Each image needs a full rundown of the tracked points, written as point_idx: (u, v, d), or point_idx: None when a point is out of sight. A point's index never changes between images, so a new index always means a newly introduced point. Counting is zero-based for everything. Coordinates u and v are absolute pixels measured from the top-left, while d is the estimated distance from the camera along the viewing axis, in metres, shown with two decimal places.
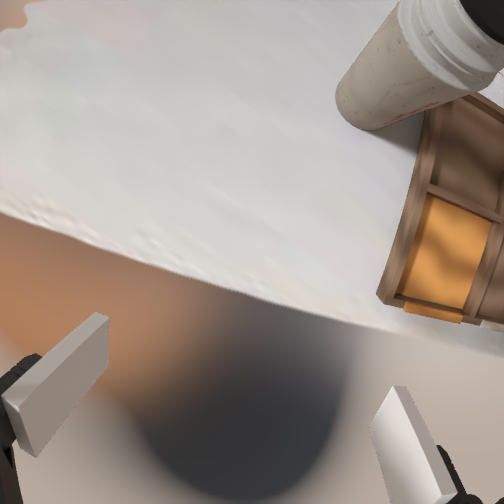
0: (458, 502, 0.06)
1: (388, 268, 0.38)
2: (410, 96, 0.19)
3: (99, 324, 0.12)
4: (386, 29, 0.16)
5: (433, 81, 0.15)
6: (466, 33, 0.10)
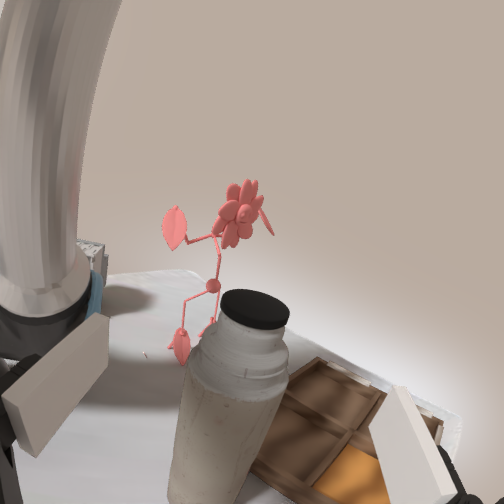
0: (458, 502, 0.06)
1: None
2: (257, 439, 0.22)
3: (99, 324, 0.12)
4: (202, 410, 0.21)
5: (270, 405, 0.21)
6: (264, 345, 0.20)
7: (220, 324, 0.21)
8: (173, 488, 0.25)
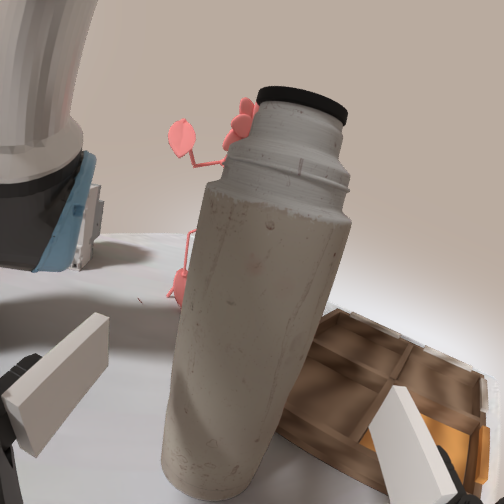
0: (458, 502, 0.06)
1: None
2: (310, 319, 0.15)
3: (99, 324, 0.12)
4: (226, 250, 0.14)
5: (335, 239, 0.14)
6: (323, 135, 0.14)
7: (257, 118, 0.15)
8: (169, 443, 0.19)
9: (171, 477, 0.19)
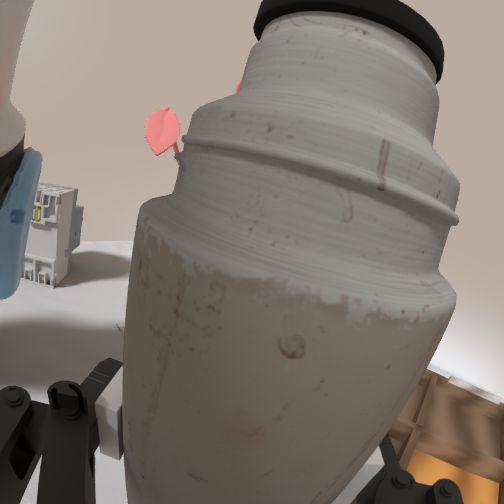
0: (384, 478, 0.07)
1: None
2: (356, 472, 0.06)
3: None
4: (175, 386, 0.05)
5: (436, 344, 0.05)
6: (417, 91, 0.05)
7: (256, 51, 0.06)
8: None
9: None
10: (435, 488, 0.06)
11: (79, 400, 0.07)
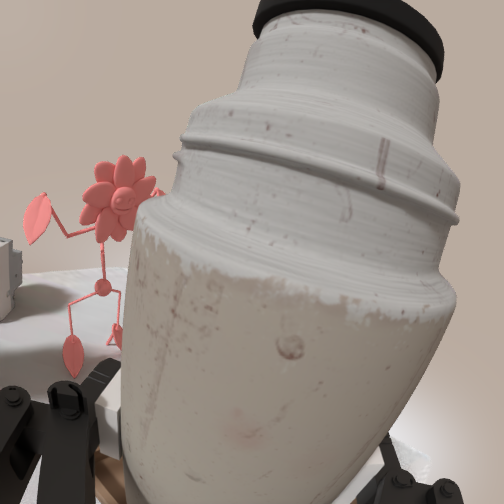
0: (384, 478, 0.07)
1: None
2: (355, 473, 0.06)
3: None
4: (173, 387, 0.05)
5: (435, 345, 0.05)
6: (417, 90, 0.05)
7: (255, 50, 0.06)
8: None
9: None
10: (435, 488, 0.06)
11: (79, 400, 0.07)
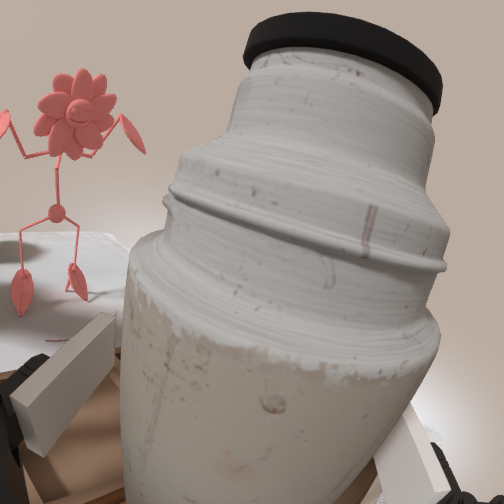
0: (452, 500, 0.06)
1: None
2: (341, 493, 0.07)
3: (106, 324, 0.12)
4: (169, 427, 0.05)
5: (416, 386, 0.05)
6: (411, 137, 0.05)
7: (245, 89, 0.06)
8: None
9: None
10: (493, 502, 0.05)
11: None
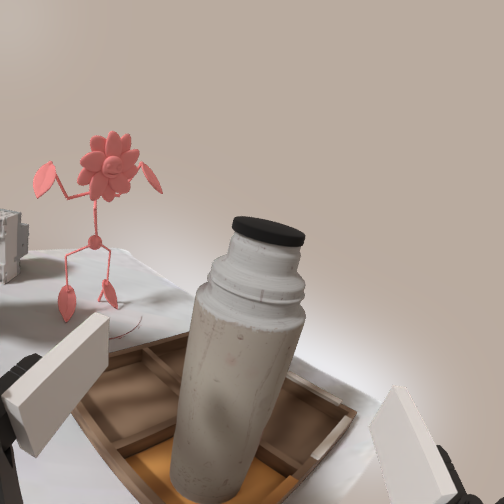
0: (458, 502, 0.06)
1: None
2: (273, 387, 0.21)
3: (99, 324, 0.12)
4: (212, 348, 0.20)
5: (288, 339, 0.20)
6: (281, 264, 0.19)
7: (232, 246, 0.20)
8: (176, 462, 0.24)
9: (178, 487, 0.24)
10: None
11: None
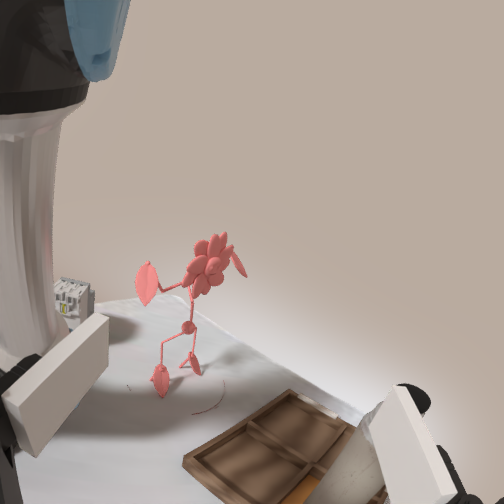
0: (458, 502, 0.06)
1: None
2: None
3: (99, 324, 0.12)
4: (375, 464, 0.27)
5: None
6: None
7: None
8: None
9: None
10: None
11: None
